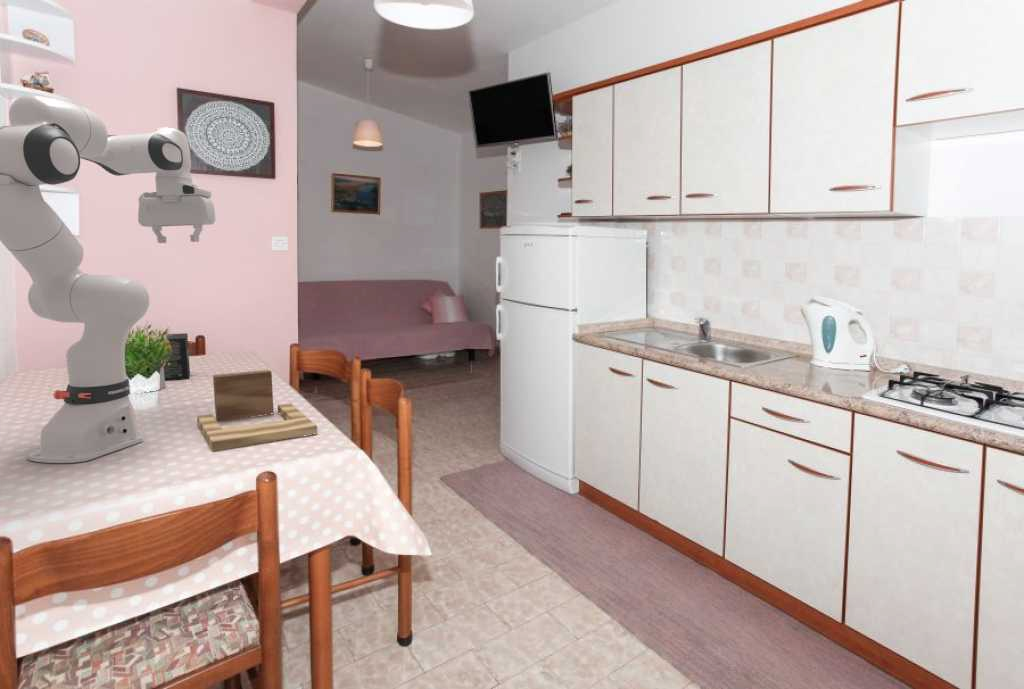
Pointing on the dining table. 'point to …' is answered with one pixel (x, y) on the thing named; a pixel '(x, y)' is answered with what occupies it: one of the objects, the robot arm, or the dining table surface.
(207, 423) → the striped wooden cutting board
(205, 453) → the dining table surface
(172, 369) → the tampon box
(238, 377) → the plank
